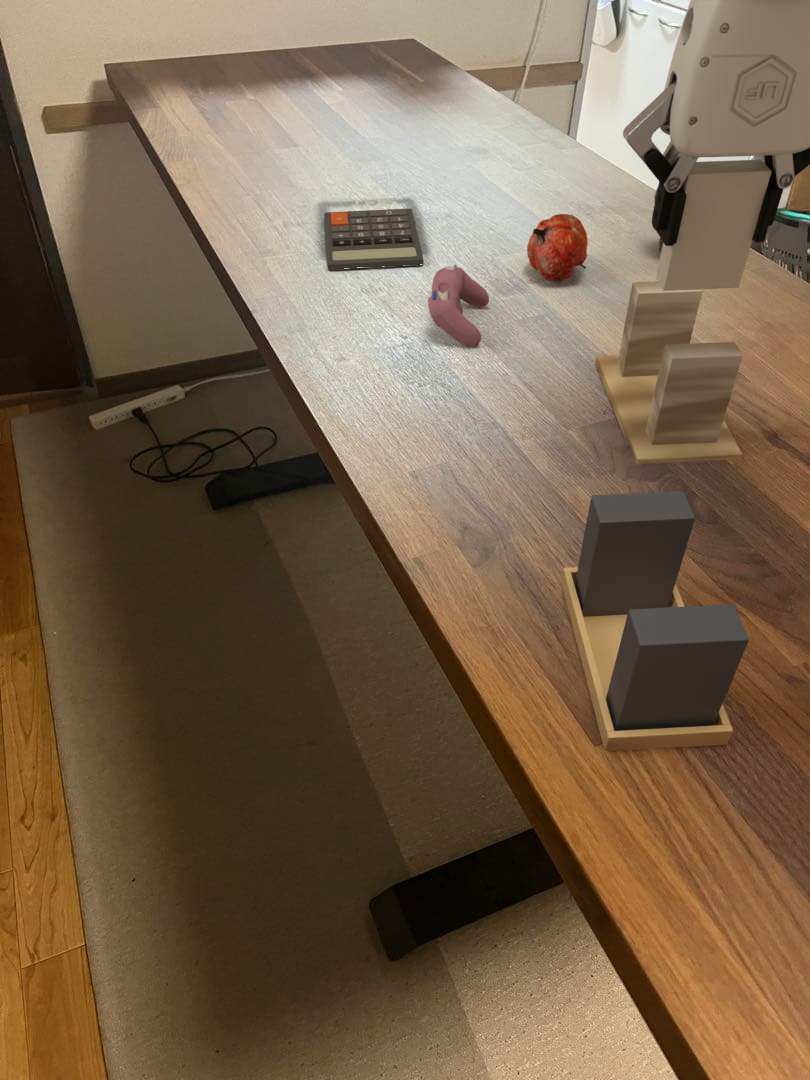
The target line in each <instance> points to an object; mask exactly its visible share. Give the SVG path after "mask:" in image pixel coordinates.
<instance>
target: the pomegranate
mask: <svg viewBox="0 0 810 1080" xmlns="http://www.w3.org/2000/svg"><path fill="white" fill-rule="evenodd" d="M588 243H589V241H588V234H587V231H586V229H585V227H584V224H583V223H582V221H581V220H580V218H578V217H576V216H574V215H573V214H568V213H559V214H554V215H552V216H551V217H550V218H546V219H542V220H540V221H539V222H538V224H537V226H536V227H535V228H533V230H532V233H531V235H530V236H529V239H528V243H527V246H526V254H527V258H528V261H529V264H530V266H531V267H532V268H533V270H535V271H537V272H539V275H540V276H541V277H543V279H545V280H547V281H549V282H559V283H561V282H563V281H565V280H567V279H570V278H571V277H572V276H573V275H574V273H575V271H574V268H575V267H579V266H580V267H581V268H583V269H585V270H586V269H587V266H585V265H584V263H585V261H586V259H587V257H588V254H587V253H588V251H587V250H588Z"/></svg>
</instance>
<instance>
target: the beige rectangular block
mask: <svg viewBox="0 0 810 1080" xmlns="http://www.w3.org/2000/svg"><path fill="white" fill-rule="evenodd" d="M770 175H771V170H770V169H769V168H768V167H767V166H766V165H765V164H764V163H763V161H762V159H741V160H739V159H737V160H735V159H734V160H710V161H696V163H695V164H694V166H693V168H692V169H691V171H690V173H689V174H688V176H687V178H686V179H685V181H684V183H683V187H682V190H683V191H684V192H685V193H686V196H687V197H686V202H685V207H684V211H683V216H682V220H681V225H680V229H679V234H678V238H677V242H676V244H674V245H673V246H665V244H664V243H663V246H662V251H661V253H660V256H659V260H658V266H657V269H656V275H655V278H656V281H658V282H659V284H660V286H661V287H662V289H663V291H672V290H696V289H702V290H718V289H738V288H740V285H741V281H742V277H743V275H744V270H745V268H746V264H747V260H748V256H749V253H750V250H751V245H752V243H753V240H752V239H753V235H754V232H755V228H756V225H757V221H758V218H759V214H760V211H761V207H762V203H763V200H764V196H765V193H766V189H767V186H768V182H769V179H770Z"/></svg>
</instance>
